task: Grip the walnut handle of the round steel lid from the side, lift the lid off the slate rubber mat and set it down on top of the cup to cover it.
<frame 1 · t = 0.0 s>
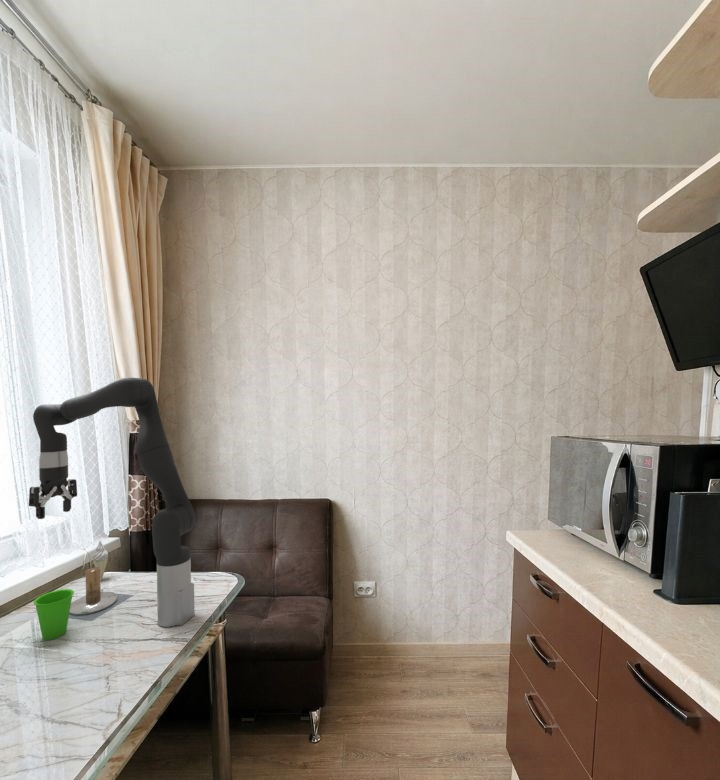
hand: (54, 514, 130), 29 cm above the table, tool pointing down, fingers open, 8 cm apart
mat: (93, 606, 128), on the table
ice cream cone: (100, 581, 147), on the table
lid: (93, 605, 128), resting on mat
cup: (54, 636, 112), on the table
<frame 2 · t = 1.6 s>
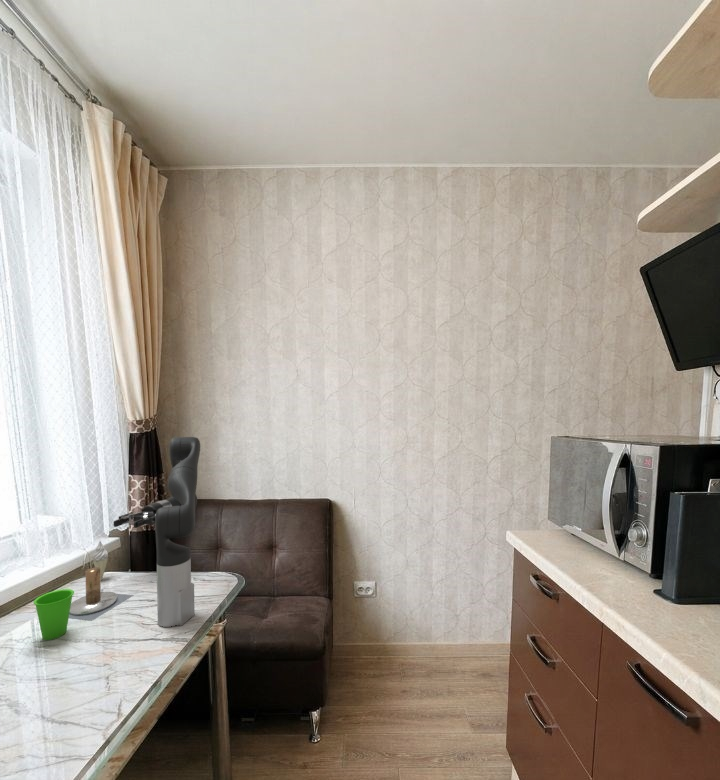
hand: (124, 524, 142), 22 cm above the table, tool horizontal, fingers open, 8 cm apart
nothing on the table moved.
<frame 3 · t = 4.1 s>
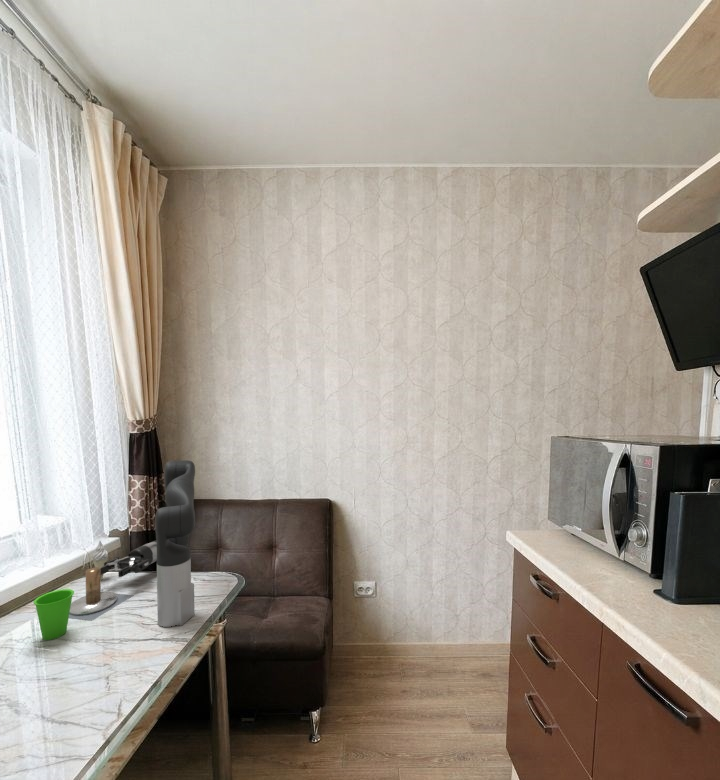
hand: (108, 573, 134), 8 cm above the table, tool horizontal, fingers open, 8 cm apart
nothing on the table moved.
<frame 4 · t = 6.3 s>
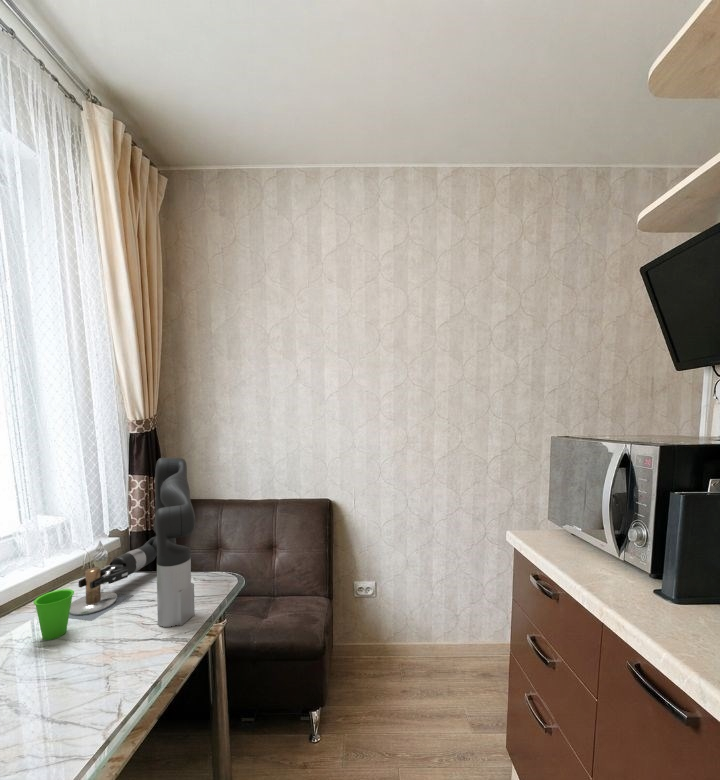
hand: (85, 584, 126), 8 cm above the table, tool horizontal, fingers closed on lid, 4 cm apart
lid: (93, 605, 128), resting on mat, touching gripper
everything else where it was.
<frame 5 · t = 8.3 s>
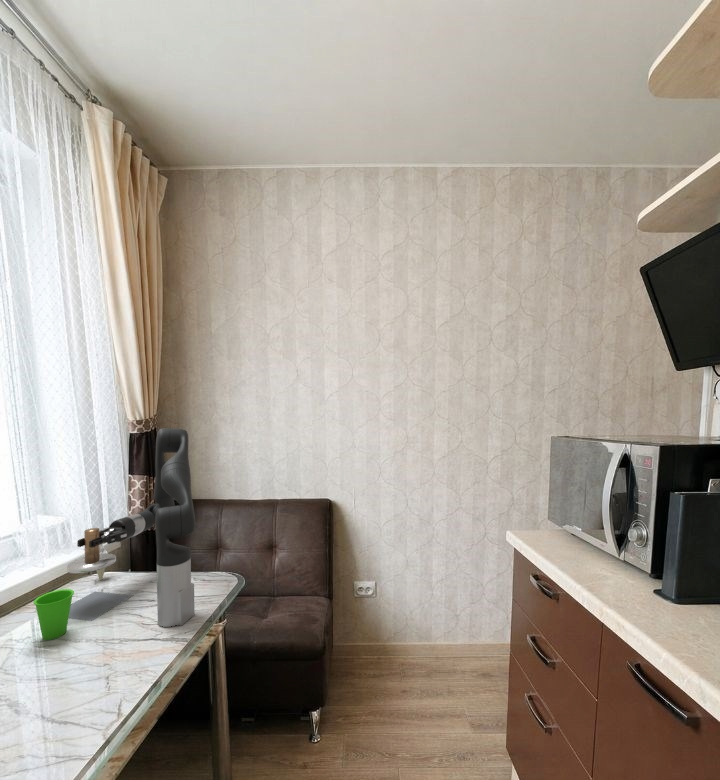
hand: (84, 544, 126), 21 cm above the table, tool horizontal, fingers closed on lid, 4 cm apart
lid: (92, 564, 128), point 13 cm above the table, touching gripper
everything else where it was.
when the fingers open (20 cm above the table, at t = 10.2 s): lid drops 1 cm, resting on cup.
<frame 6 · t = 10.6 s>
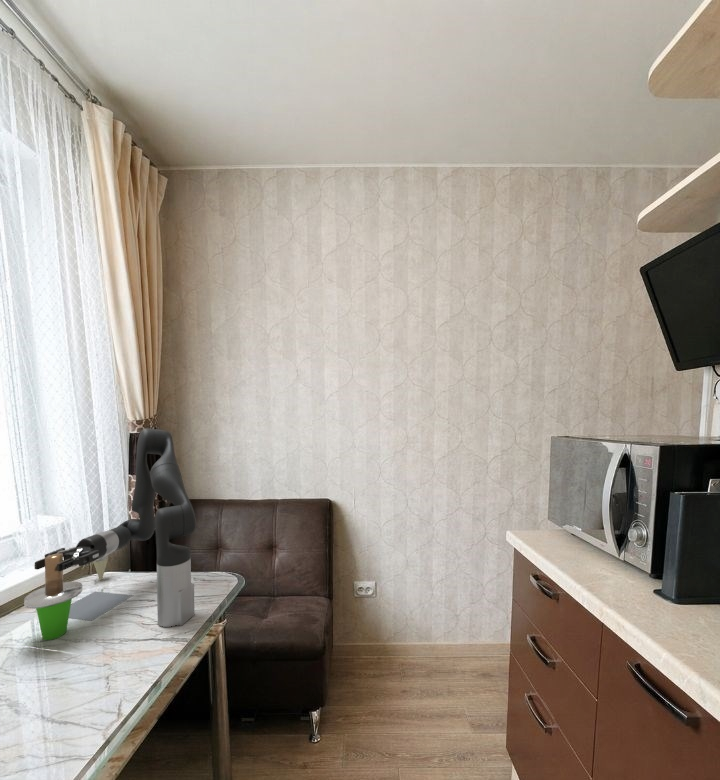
hand: (46, 566, 110), 20 cm above the table, tool horizontal, fingers open, 7 cm apart
lid: (54, 596, 112), point 11 cm above the table, touching cup
cup: (54, 636, 112), on the table, touching lid
everything else where it was.
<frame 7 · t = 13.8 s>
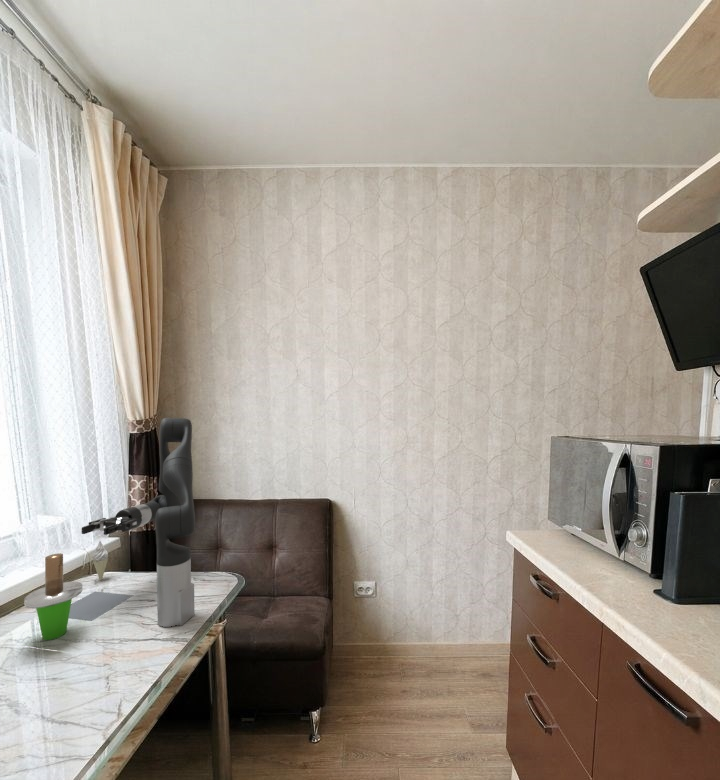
hand: (93, 531, 125), 25 cm above the table, tool horizontal, fingers open, 8 cm apart
nothing on the table moved.
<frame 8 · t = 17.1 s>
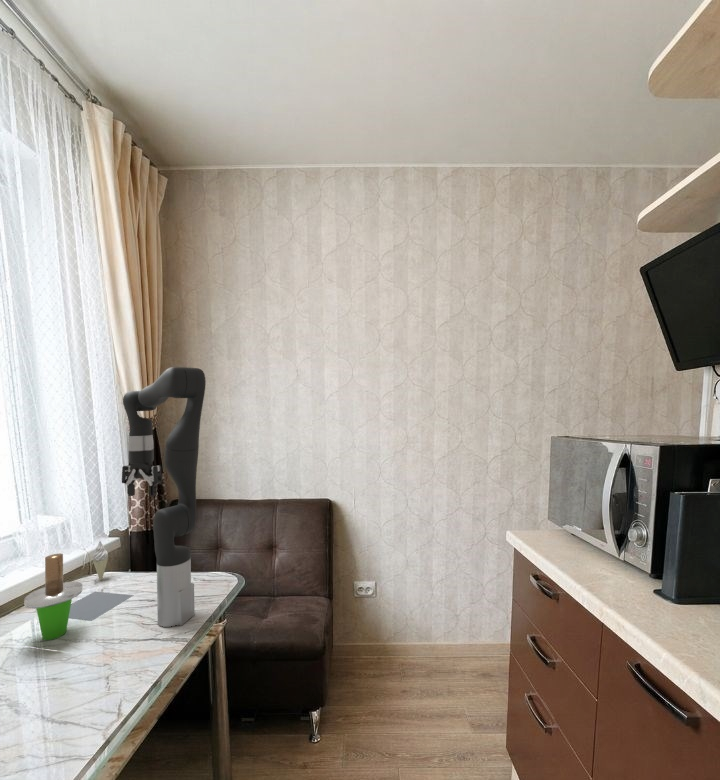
hand: (141, 496, 137), 33 cm above the table, tool pointing down, fingers open, 8 cm apart
nothing on the table moved.
at the end: lid 0.1 cm from the cup (horizontally); lid point 11.0 cm above the table; cup tilted 0° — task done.
